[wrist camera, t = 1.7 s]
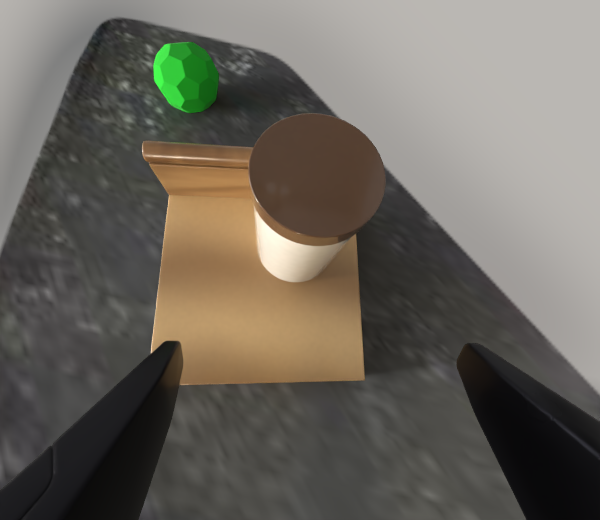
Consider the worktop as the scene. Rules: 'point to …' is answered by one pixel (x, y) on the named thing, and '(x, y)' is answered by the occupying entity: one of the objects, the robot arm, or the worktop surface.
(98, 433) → the robot arm
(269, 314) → the wooden ramp
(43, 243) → the worktop surface
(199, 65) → the polyhedron
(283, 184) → the cylinder
